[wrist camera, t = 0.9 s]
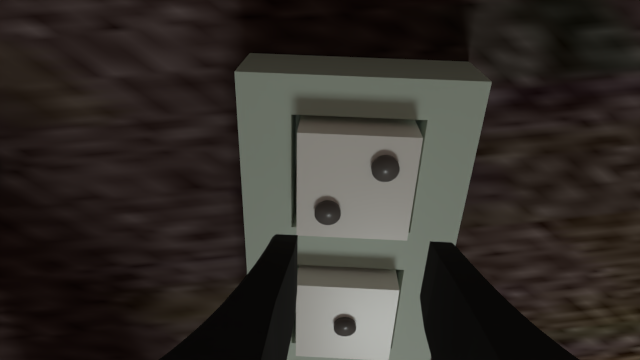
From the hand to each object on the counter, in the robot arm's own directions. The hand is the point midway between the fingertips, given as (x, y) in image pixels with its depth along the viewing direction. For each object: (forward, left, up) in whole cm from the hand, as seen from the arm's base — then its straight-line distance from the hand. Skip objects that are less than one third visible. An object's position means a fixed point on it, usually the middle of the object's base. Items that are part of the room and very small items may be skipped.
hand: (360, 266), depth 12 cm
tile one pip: (0, -7, -6) cm, 9 cm away
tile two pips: (0, 0, -6) cm, 6 cm away
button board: (0, -7, -8) cm, 11 cm away
